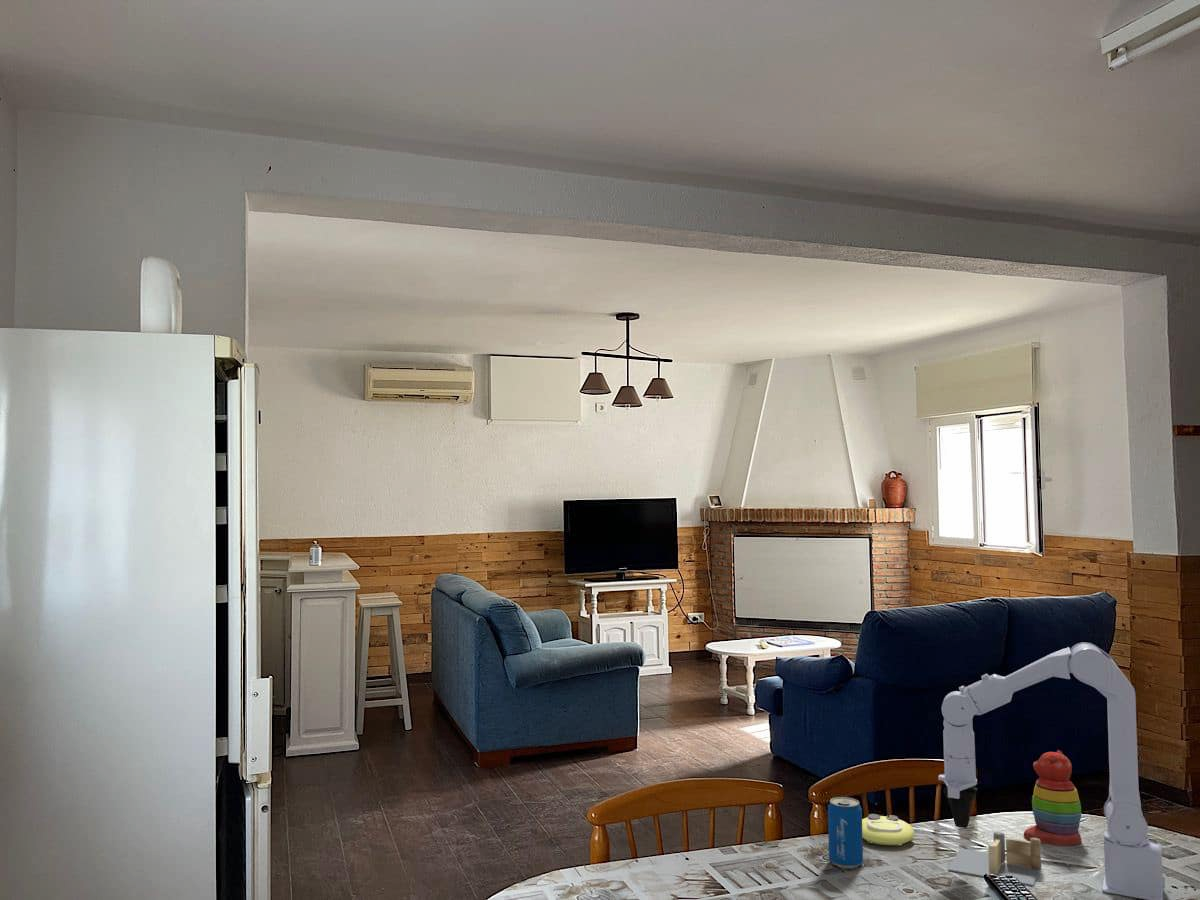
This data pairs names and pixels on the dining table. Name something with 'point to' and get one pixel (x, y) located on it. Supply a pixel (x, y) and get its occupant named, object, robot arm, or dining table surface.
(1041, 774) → the stacking bear
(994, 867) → the fence panel
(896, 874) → the dining table surface
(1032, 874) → the card
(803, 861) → the dining table surface
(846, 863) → the beverage can
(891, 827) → the emoji
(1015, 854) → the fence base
